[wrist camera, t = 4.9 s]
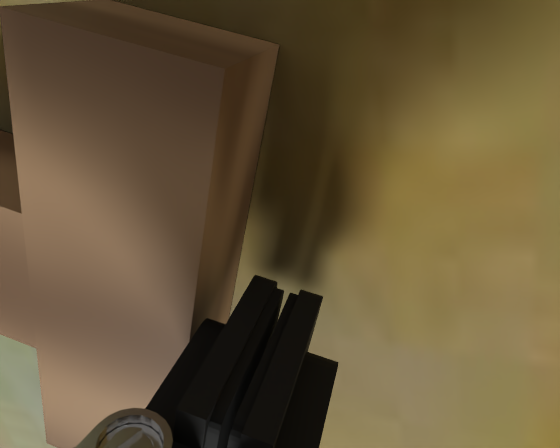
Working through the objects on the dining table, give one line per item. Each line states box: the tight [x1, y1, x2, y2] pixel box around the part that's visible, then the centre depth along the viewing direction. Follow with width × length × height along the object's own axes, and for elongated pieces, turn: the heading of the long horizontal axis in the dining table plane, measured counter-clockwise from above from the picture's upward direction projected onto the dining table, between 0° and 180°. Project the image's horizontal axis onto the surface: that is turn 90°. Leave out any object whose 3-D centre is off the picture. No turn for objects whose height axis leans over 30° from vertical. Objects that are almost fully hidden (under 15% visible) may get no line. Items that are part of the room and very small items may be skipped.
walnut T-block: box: [0, 0, 279, 448], centre depth 12 cm, size 12×12×3 cm
